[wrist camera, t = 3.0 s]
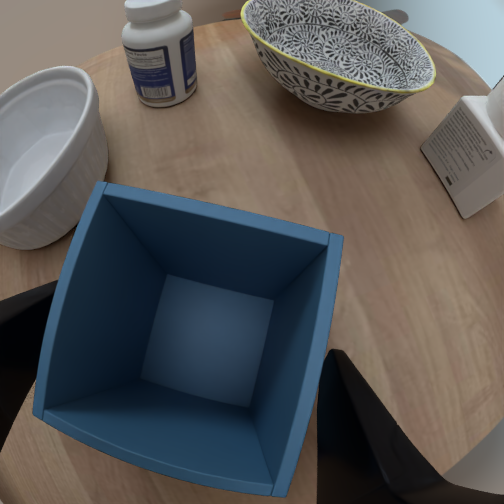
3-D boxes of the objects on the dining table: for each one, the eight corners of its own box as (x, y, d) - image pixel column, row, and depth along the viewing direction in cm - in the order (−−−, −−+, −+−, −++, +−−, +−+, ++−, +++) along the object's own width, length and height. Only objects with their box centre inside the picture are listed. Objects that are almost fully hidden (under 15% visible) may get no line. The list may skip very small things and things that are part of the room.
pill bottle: (177, 65, 23) (167, -20, 14) (209, 89, 22) (207, -8, 13) (128, 91, 22) (103, 4, 13) (155, 119, 21) (131, 18, 12)
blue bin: (253, 413, 15) (286, 498, 5) (135, 381, 15) (31, 414, 5) (280, 296, 17) (344, 235, 7) (164, 268, 17) (96, 179, 7)
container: (458, 137, 24) (523, 61, 11) (496, 199, 22) (577, 135, 9) (418, 147, 22) (495, 49, 10) (462, 221, 20) (567, 144, 8)
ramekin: (98, 99, 22) (76, 43, 15) (150, 200, 19) (119, 135, 12) (-10, 176, 19) (-49, 137, 12) (10, 297, 16) (-54, 273, 9)
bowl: (406, 179, 21) (456, 124, 14) (213, 125, 21) (211, 47, 14) (392, 72, 26) (417, 25, 19) (258, 33, 26) (264, -21, 19)
